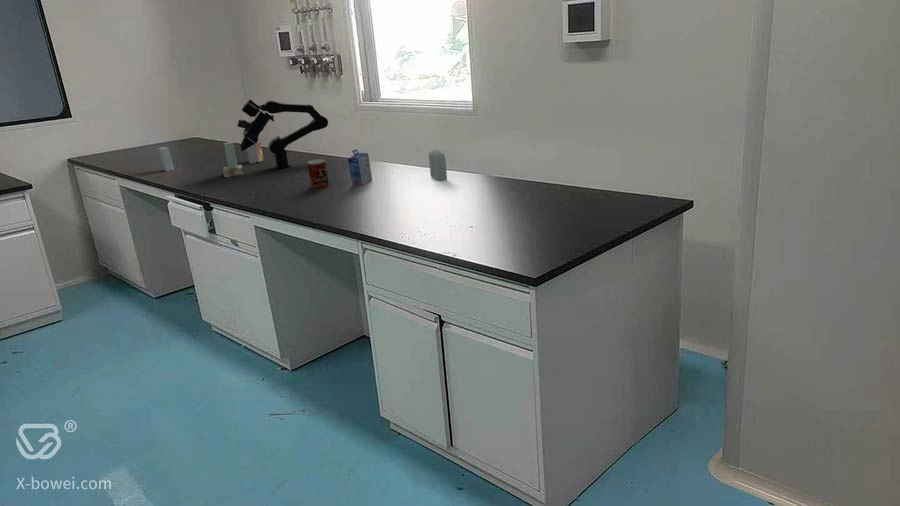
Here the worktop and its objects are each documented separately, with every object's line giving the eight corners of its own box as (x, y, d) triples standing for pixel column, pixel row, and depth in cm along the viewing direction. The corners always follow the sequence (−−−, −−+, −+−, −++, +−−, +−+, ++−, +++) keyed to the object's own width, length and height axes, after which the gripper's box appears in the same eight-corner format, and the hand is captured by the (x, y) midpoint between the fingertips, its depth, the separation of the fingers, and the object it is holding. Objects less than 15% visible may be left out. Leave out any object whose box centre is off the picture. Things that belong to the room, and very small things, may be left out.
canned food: (314, 189, 269) (309, 164, 265) (309, 186, 275) (304, 161, 271) (331, 186, 272) (327, 161, 268) (325, 182, 278) (322, 158, 275)
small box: (259, 162, 334) (255, 143, 330) (249, 163, 334) (245, 144, 330) (264, 159, 341) (260, 140, 337) (253, 160, 341) (250, 141, 338)
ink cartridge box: (361, 180, 278) (356, 147, 273) (372, 180, 276) (368, 147, 271) (351, 186, 269) (346, 152, 264) (362, 186, 267) (358, 152, 262)
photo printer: (448, 180, 264) (446, 150, 260) (439, 181, 263) (436, 152, 258) (438, 175, 273) (435, 147, 269) (429, 177, 272) (426, 148, 267)
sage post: (237, 166, 312) (232, 141, 308) (237, 167, 308) (232, 143, 304) (228, 167, 311) (224, 142, 307) (228, 168, 307) (223, 144, 303)
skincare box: (174, 170, 335) (169, 147, 330) (166, 171, 332) (160, 149, 328) (171, 168, 339) (165, 146, 335) (162, 170, 337) (157, 148, 332)
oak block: (243, 172, 316) (241, 164, 315) (243, 175, 308) (242, 167, 307) (224, 175, 314) (222, 167, 312) (224, 178, 306) (223, 170, 304)
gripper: (244, 111, 312) (226, 136, 313) (245, 115, 296) (226, 142, 296) (263, 124, 317) (245, 149, 318) (266, 129, 300) (247, 156, 301)
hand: (241, 149), depth 308 cm, fingers open, 9 cm apart
